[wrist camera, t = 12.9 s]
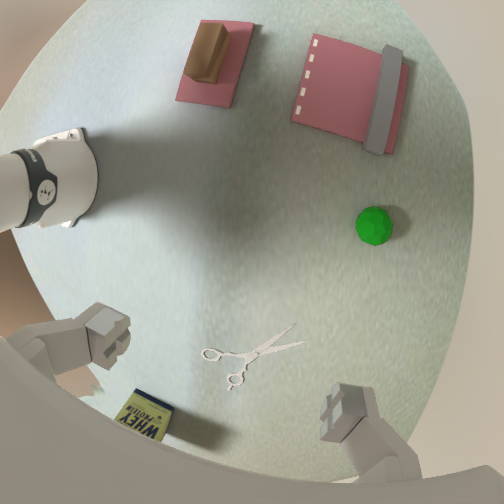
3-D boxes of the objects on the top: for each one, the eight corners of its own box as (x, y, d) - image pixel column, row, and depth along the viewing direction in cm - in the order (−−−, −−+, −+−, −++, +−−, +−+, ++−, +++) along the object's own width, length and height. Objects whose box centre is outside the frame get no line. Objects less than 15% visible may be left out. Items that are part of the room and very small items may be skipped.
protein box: (174, 406, 54) (148, 456, 39) (166, 433, 59) (145, 474, 44) (135, 386, 54) (104, 431, 40) (132, 416, 59) (108, 454, 45)
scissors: (192, 355, 47) (284, 308, 40) (193, 352, 47) (285, 305, 41) (228, 391, 48) (319, 354, 42) (229, 388, 49) (319, 351, 43)
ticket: (289, 128, 33) (288, 124, 30) (314, 31, 27) (315, 21, 25) (388, 160, 32) (395, 160, 29) (407, 63, 26) (414, 56, 23)
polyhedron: (356, 243, 36) (364, 254, 31) (349, 209, 35) (356, 215, 30) (389, 235, 35) (400, 244, 30) (382, 201, 34) (394, 206, 29)
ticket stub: (178, 101, 34) (160, 93, 28) (203, 22, 29) (190, 6, 24) (230, 108, 33) (218, 99, 28) (254, 25, 28) (247, 7, 23)
